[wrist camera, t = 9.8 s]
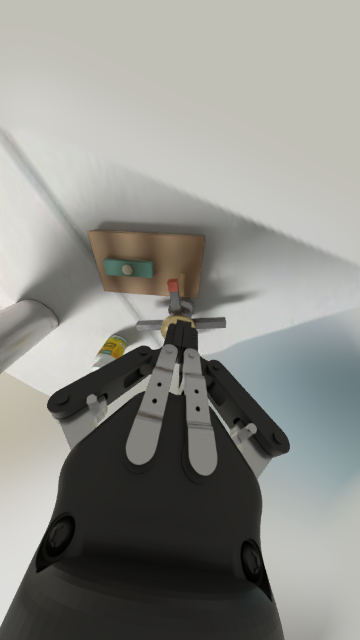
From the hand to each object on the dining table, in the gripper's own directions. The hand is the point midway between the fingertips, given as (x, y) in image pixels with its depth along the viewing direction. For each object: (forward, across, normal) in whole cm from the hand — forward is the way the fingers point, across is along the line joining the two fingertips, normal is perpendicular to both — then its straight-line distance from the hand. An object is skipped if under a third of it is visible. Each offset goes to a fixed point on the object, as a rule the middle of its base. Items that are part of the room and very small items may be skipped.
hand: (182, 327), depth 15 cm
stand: (+16, +7, 0) cm, 17 cm away
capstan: (+16, 0, +8) cm, 18 cm away
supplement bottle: (+16, +14, +23) cm, 31 cm away
